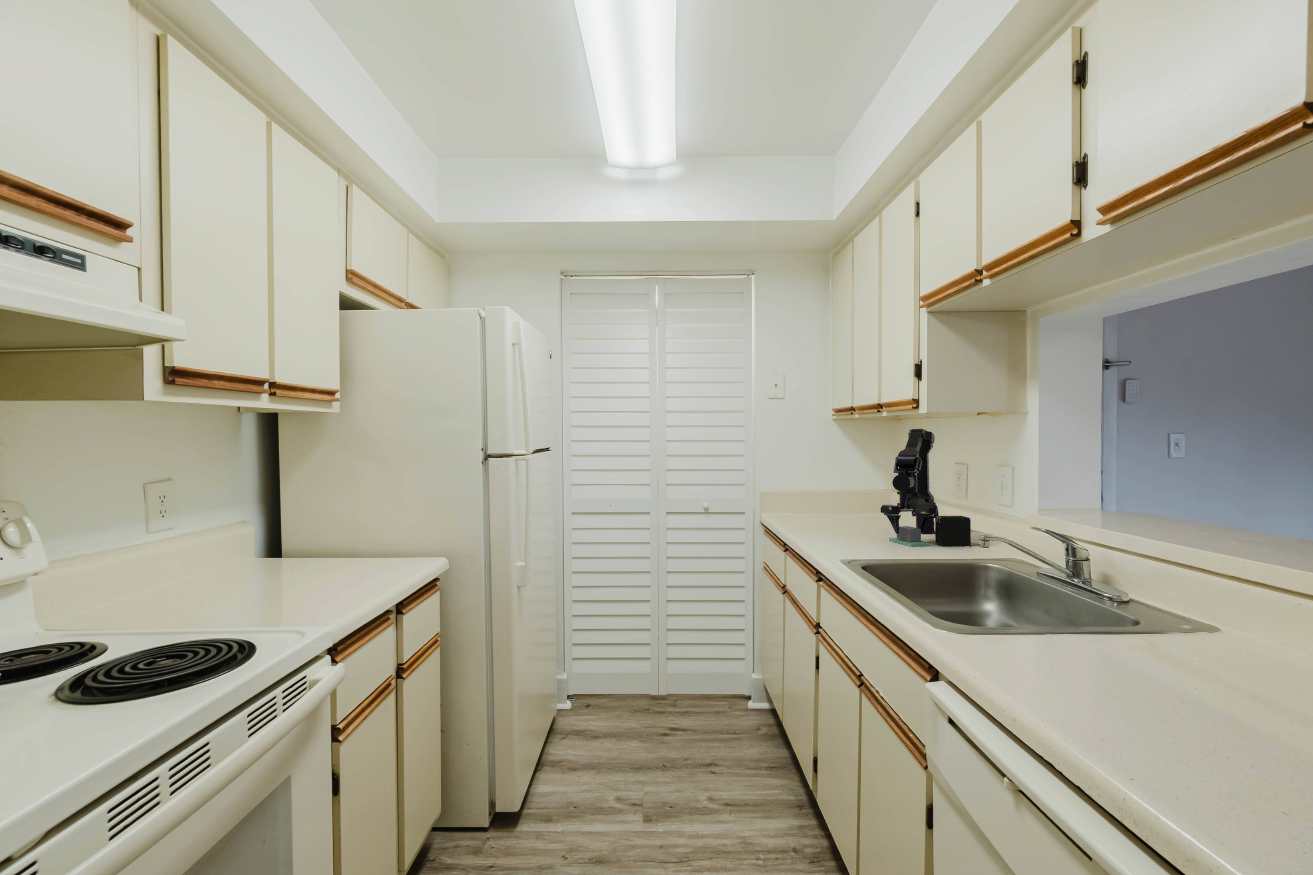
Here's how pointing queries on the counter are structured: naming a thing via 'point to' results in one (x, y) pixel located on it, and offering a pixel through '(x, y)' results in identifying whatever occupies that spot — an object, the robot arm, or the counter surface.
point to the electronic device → (952, 531)
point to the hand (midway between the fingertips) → (908, 533)
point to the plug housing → (909, 534)
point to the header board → (912, 544)
